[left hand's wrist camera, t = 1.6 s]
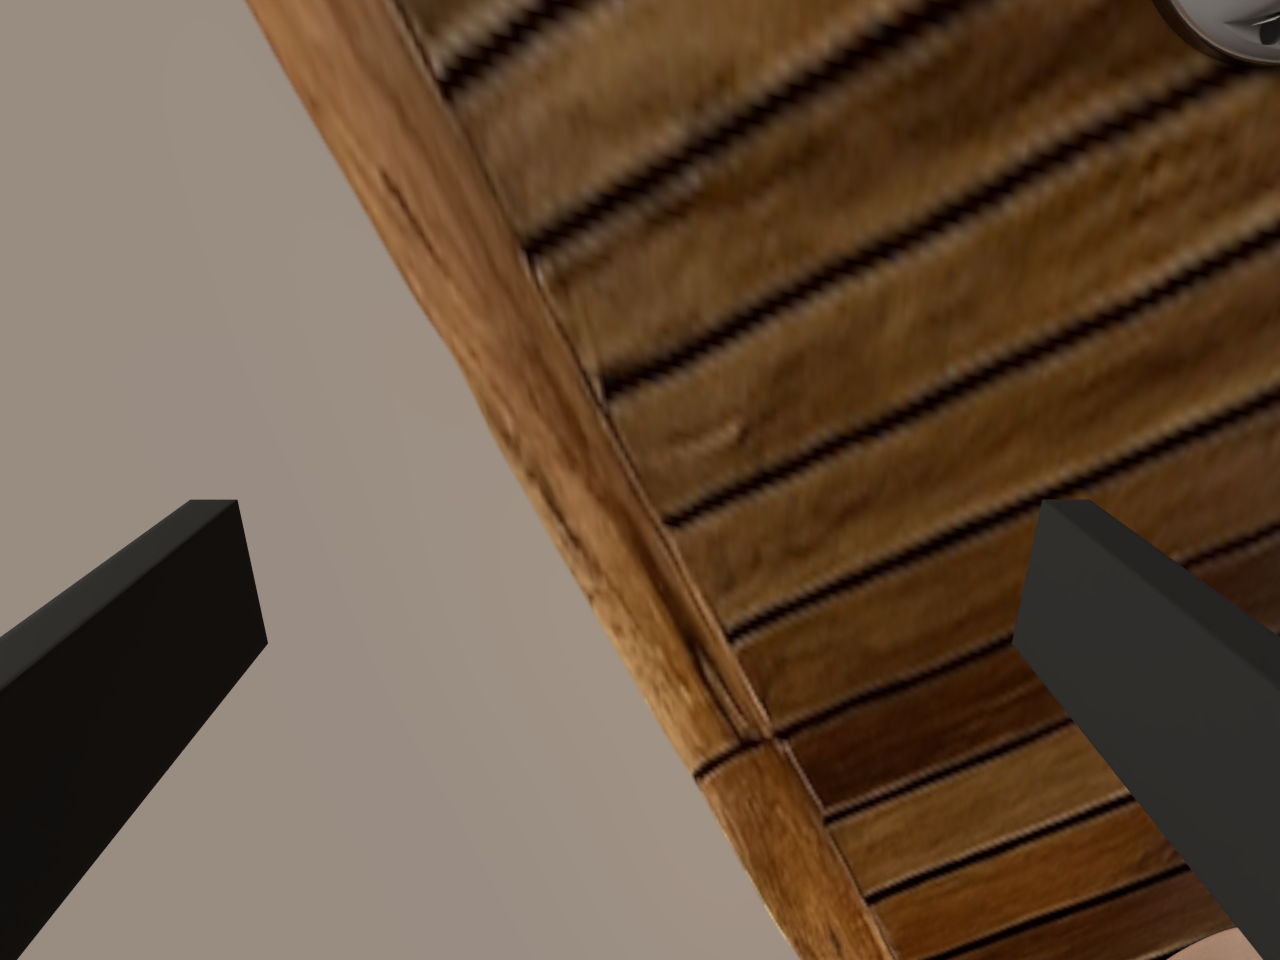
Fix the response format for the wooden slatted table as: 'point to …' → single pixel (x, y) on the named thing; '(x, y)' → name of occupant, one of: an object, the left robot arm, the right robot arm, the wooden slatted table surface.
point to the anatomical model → (1220, 948)
